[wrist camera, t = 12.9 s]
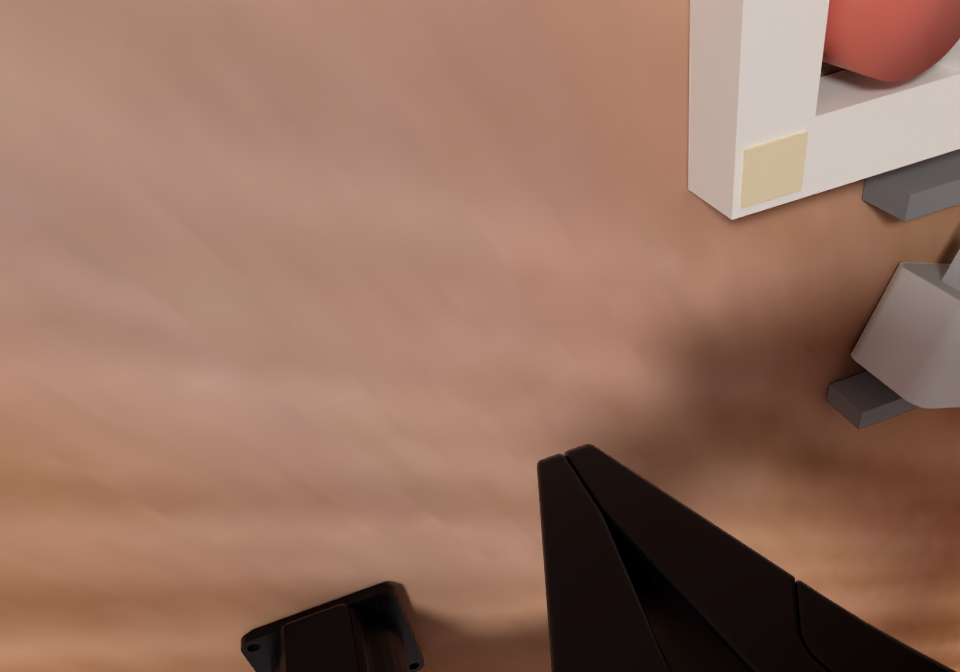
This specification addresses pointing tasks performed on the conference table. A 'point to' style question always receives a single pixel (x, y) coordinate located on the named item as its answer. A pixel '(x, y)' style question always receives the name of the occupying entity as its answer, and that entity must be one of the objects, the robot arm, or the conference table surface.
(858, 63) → the button
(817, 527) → the conference table surface
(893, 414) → the bracket
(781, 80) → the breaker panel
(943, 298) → the usb wall charger
